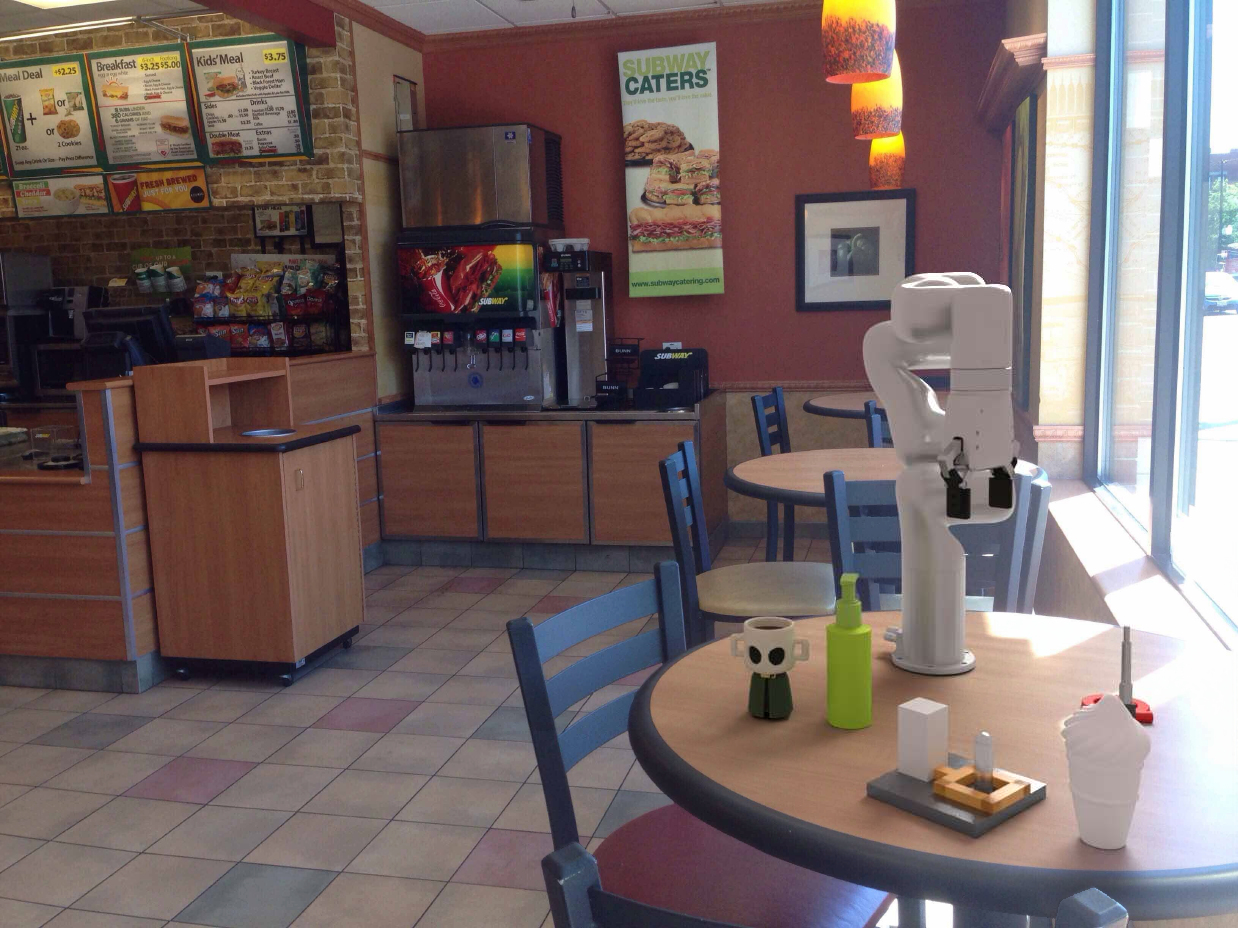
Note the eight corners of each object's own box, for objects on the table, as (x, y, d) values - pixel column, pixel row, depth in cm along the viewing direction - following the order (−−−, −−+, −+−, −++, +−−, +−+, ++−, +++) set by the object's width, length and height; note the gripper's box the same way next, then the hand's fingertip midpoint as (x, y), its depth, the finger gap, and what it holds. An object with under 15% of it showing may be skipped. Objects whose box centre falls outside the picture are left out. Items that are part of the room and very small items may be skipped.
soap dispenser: (874, 712, 147) (873, 571, 144) (869, 730, 140) (868, 583, 138) (831, 708, 149) (830, 569, 146) (824, 726, 142) (822, 581, 139)
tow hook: (1074, 701, 149) (1093, 722, 140) (1075, 611, 148) (1094, 627, 139) (1138, 702, 148) (1161, 724, 139) (1139, 611, 147) (1163, 627, 138)
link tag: (889, 775, 123) (888, 709, 122) (927, 757, 127) (927, 693, 126) (993, 814, 112) (993, 742, 111) (1030, 793, 117) (1031, 723, 116)
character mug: (726, 719, 146) (724, 628, 144) (737, 701, 153) (735, 614, 151) (806, 726, 142) (804, 632, 141) (813, 707, 149) (812, 618, 147)
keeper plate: (866, 795, 121) (866, 724, 120) (938, 760, 130) (938, 693, 129) (975, 837, 111) (976, 760, 109) (1045, 796, 119) (1047, 724, 118)
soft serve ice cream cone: (1044, 824, 113) (1046, 679, 111) (1119, 818, 114) (1122, 674, 112) (1085, 863, 105) (1088, 707, 103) (1165, 856, 105) (1170, 702, 103)
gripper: (991, 377, 145) (990, 501, 147) (915, 386, 134) (915, 518, 136) (1043, 378, 139) (1041, 507, 141) (968, 387, 128) (967, 526, 131)
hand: (979, 512), depth 139 cm, fingers open, 9 cm apart
